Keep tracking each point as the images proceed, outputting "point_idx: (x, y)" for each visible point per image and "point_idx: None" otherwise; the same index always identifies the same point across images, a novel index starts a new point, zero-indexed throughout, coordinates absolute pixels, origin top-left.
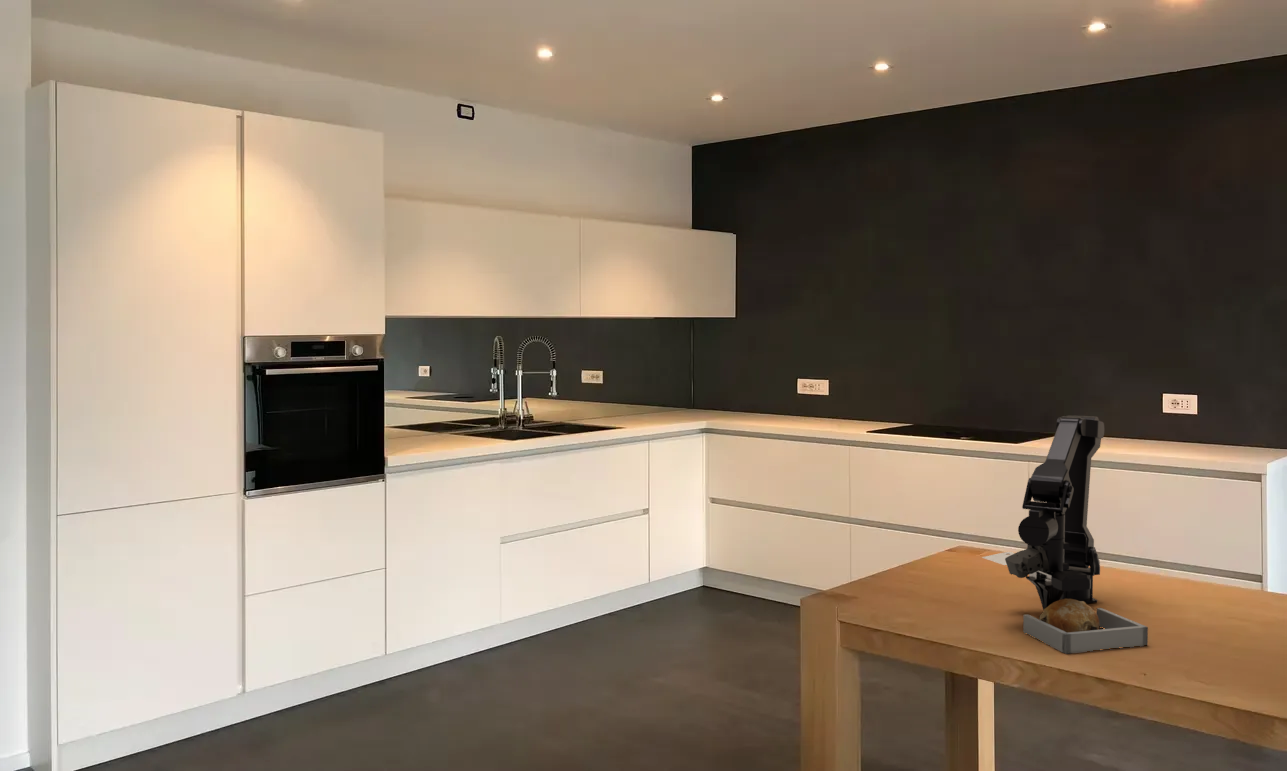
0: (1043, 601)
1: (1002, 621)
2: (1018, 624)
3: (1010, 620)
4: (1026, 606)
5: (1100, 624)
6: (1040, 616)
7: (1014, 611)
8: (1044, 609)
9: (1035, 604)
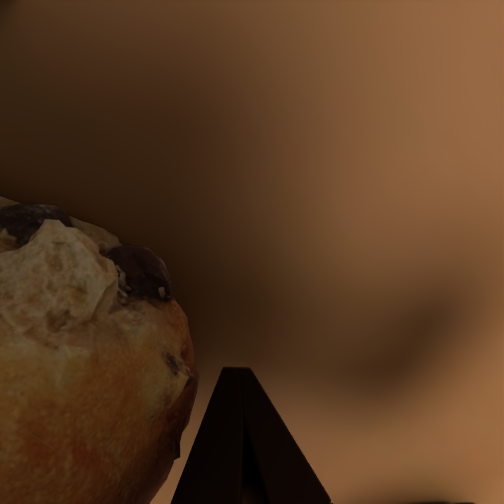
0: (255, 467)
1: (432, 40)
2: (288, 118)
3: (404, 138)
4: (495, 393)
5: None
6: (82, 258)
7: (500, 301)
8: (54, 355)
9: (480, 432)
